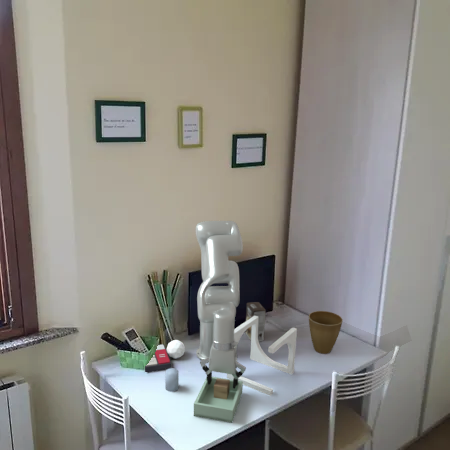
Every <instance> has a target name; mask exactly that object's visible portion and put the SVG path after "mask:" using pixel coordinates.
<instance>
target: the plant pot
mask: <svg viewBox="0 0 450 450" xmlns="http://www.w3.org/2000/svg"><path fill="white" fill-rule="evenodd" d="M343 320H344V319H343V317H342V316H340V315H339V314H337V313H335V312H331V311H325V310H316V311H312V312H310V313H309V314H308V326H309V334H310V338H311V342H312V346H313V349H314V351H315V352H316V353H318V354H320V355H321V354H322V355H327V354H330V353H331V352H332V350H333V348H334V346H335V344H336V342H337V340H338V337H339V335H340V332H341V329H342V325H343Z"/></svg>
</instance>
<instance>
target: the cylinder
mask: <svg viewBox="0 0 450 450" xmlns="http://www.w3.org/2000/svg"><path fill="white" fill-rule="evenodd" d="M179 373H180V372H179V369H177V368H173V367H171V368H170V369H166V370H165V375H164V376H165V379H164V380H165V381H164V382H165V390H166V391H168V392H169V393H171V392H172V393H173V392H176V391H178V390H179V381H180V380H179V375H180V374H179Z"/></svg>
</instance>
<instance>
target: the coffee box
mask: <svg viewBox="0 0 450 450" xmlns="http://www.w3.org/2000/svg"><path fill="white" fill-rule="evenodd" d="M266 311H267V310H266V309H265V307H264V306H263V305H262V304H261V303H260V302H259V301H254V302H253V301H251V302H247V303H246V309H245V312H246V313H245V322H246V321H247V320H249V319H250V318H252V317H253V316H258V317H259V320H258V341H259V342H263V341H264V340H265V339H264V338H265V326H266V325H265V324H266ZM251 332H252V326H251V327H249V328H248V329H247V330H246V331H245V332H244V333H245V335H246V336H247V338H248V340H250V342H251Z"/></svg>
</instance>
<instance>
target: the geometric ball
mask: <svg viewBox="0 0 450 450" xmlns="http://www.w3.org/2000/svg"><path fill="white" fill-rule="evenodd" d="M185 350H186V347H185V345H184V343H183V342H182V341H180V340H179V339H174V340H171V341H170V342H168V344H167V347H166V351H167V353H168V356H169V358H173V359H179V358H181V357H182V356H183V355H184V354H185Z"/></svg>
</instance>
